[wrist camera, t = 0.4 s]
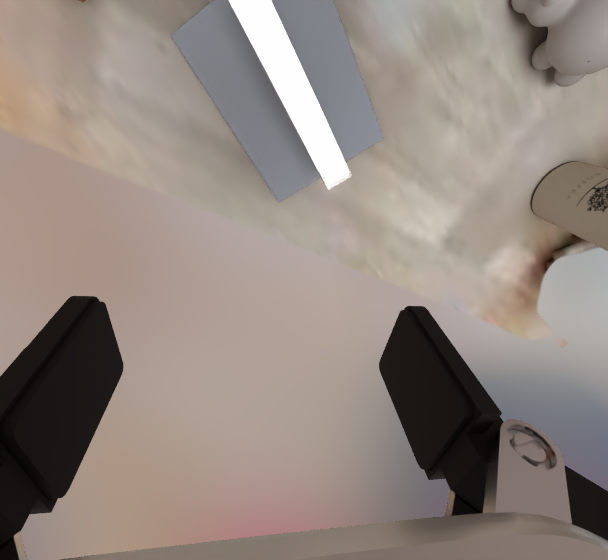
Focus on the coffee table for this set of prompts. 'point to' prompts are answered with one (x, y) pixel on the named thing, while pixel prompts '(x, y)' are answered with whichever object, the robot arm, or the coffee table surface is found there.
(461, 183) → the coffee table surface
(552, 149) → the coffee table surface
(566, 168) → the travel mug
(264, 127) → the fulcrum base
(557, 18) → the round bodied animal figurine
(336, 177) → the steel ridge
